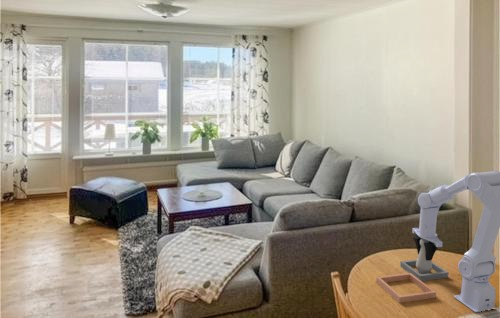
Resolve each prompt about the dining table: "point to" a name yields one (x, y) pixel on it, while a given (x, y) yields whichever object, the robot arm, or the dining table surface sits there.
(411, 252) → the dining table surface
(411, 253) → the dining table surface
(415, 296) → the salmon pink square frame
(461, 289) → the robot arm
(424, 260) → the salt shaker
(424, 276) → the grey square frame
